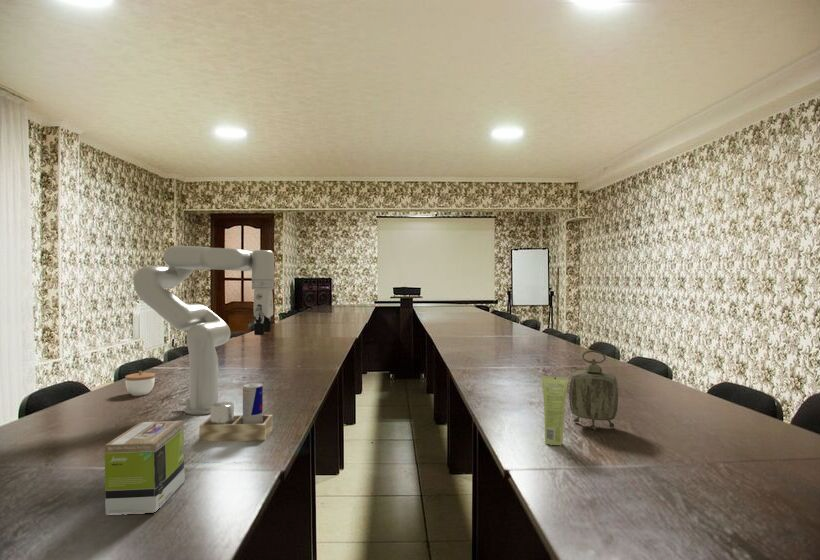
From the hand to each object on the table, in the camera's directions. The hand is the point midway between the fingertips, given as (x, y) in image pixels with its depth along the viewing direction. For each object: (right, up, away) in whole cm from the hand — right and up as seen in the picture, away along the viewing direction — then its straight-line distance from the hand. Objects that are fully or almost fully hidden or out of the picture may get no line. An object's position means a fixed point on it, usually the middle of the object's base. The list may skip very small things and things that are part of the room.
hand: (262, 333), depth 163 cm
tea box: (-4, -29, -63) cm, 70 cm away
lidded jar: (-59, -28, +27) cm, 71 cm away
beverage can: (+5, -28, -26) cm, 38 cm away
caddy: (+1, -28, -26) cm, 38 cm away
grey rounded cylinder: (-4, -27, -26) cm, 38 cm away
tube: (+94, -29, -29) cm, 103 cm away
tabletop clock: (+111, -29, -15) cm, 116 cm away
